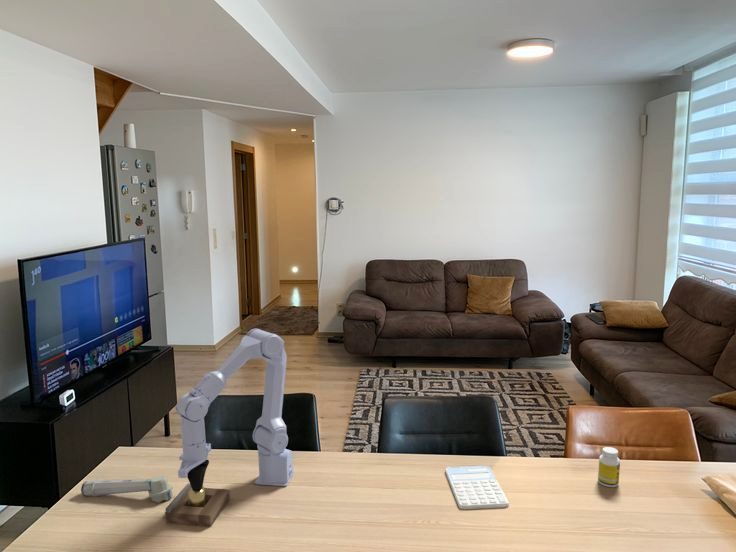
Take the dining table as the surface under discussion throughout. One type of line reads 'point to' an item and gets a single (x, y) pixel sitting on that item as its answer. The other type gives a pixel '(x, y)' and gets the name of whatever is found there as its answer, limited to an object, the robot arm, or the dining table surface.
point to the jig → (197, 516)
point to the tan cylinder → (197, 498)
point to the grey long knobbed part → (129, 487)
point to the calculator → (476, 487)
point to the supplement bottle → (609, 467)
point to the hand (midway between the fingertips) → (197, 489)
